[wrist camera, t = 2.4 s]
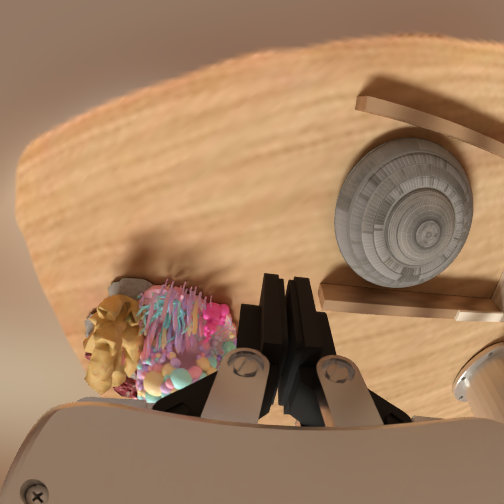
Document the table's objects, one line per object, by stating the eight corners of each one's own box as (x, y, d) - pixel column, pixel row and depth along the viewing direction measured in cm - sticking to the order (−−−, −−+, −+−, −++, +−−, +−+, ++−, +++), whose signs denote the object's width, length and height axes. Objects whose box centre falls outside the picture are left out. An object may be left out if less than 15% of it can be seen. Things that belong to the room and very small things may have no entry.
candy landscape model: (79, 367, 40) (55, 412, 32) (106, 239, 31) (61, 285, 23) (229, 430, 44) (223, 479, 36) (314, 334, 35) (324, 397, 27)
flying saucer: (417, 297, 32) (435, 327, 27) (303, 247, 30) (310, 276, 25) (485, 184, 26) (516, 200, 21) (377, 105, 24) (401, 106, 19)
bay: (541, 165, 24) (560, 173, 21) (492, 306, 32) (505, 322, 29) (357, 96, 24) (369, 95, 20) (317, 293, 32) (322, 313, 29)
